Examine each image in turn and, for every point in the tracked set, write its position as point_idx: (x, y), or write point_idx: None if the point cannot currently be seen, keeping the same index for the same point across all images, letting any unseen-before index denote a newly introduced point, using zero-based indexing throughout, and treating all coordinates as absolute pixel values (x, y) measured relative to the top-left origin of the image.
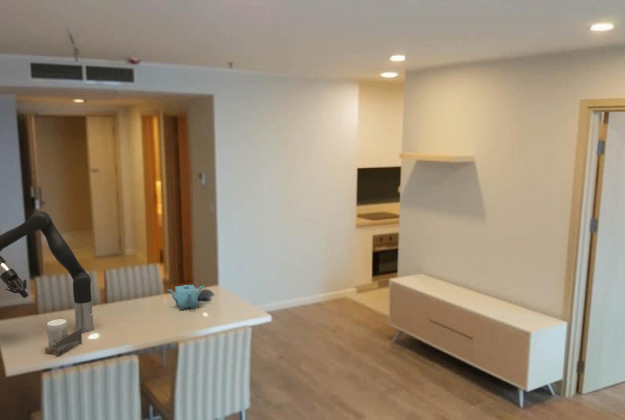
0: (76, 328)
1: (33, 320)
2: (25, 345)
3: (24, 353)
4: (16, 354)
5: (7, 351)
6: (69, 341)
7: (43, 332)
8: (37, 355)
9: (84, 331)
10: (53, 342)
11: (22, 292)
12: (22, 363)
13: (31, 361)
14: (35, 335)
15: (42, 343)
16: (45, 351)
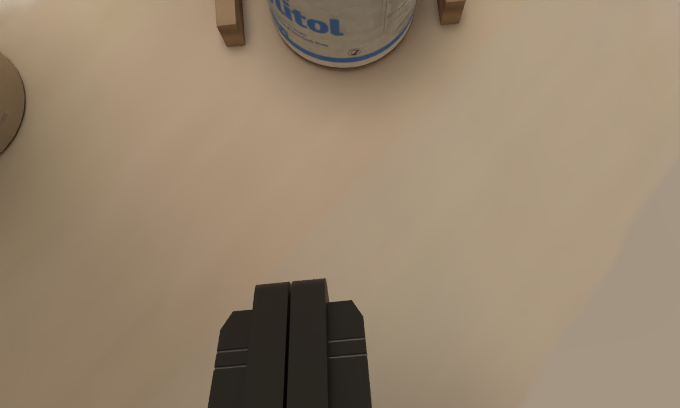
0: (3, 121)
1: None
2: (408, 295)
3: (527, 168)
4: (569, 210)
5: (561, 332)
6: None
7: (124, 390)
8: (510, 47)
9: (8, 59)
10: None
11: (337, 392)
12: (659, 34)
13: (605, 4)
14: (205, 401)
15: (320, 196)
16: (460, 11)
